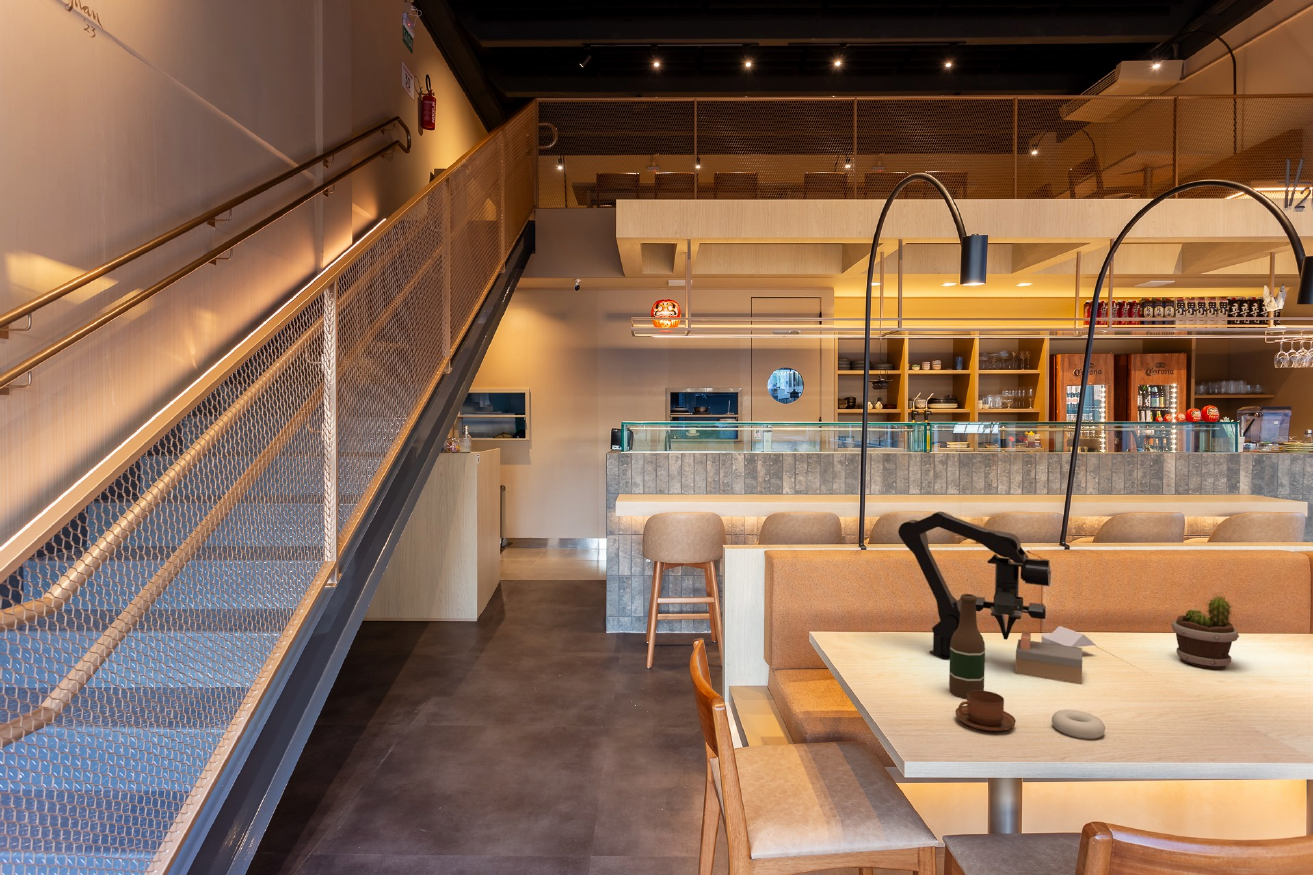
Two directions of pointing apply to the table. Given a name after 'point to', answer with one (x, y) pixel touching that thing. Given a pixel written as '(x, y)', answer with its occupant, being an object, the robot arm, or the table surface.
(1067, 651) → the lid
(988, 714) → the cup and saucer
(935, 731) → the table surface
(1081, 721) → the donut
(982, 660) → the beer bottle
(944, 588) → the robot arm
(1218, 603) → the flowerpot
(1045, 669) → the base
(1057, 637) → the wedge on round base
